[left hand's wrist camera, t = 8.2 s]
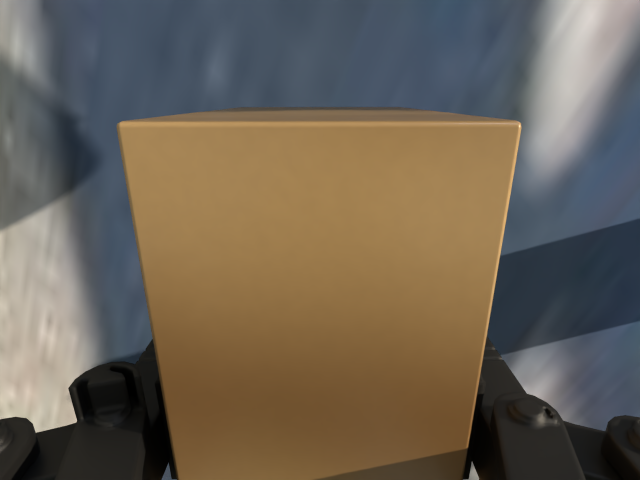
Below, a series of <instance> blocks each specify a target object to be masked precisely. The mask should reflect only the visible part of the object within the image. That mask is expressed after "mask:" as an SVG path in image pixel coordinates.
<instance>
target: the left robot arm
mask: <svg viewBox="0 0 640 480" xmlns="http://www.w3.org/2000/svg"><path fill="white" fill-rule="evenodd" d="M68 389H69V392H70V396H71V400H72V403H73V407H74V411H75V414H76V418H77V423H74V424H71V425H67V426H63V427H59V428H55V429H51V430H46V431H42V432H38V433H35V429H34V426H33V424H32V423H31V422H30V421H29V420H28V419H27V418H20V417H12V418H5V419H0V480H161V479H162V477H163V474H164V472H165V470H166V467H167V465H168V462H169V466H170V472H171V477H172V479H177V477H176V471H175V465H174V459H173V453H172V448H171V442H170V436H169V430H168V424H167V418H166V412H165V407H164V401H163V395H162V389H161V383H160V377H159V372H158V366H157V360H156V354H155V348H154V342H153V339H152V341H151V342H150V343H149V345H148V346H147V348H146V351H144V352H143V354H142V355H141V357H140V358H139V361H137V362H136V364H135V365H134V364H132V363H128V362H111V363H107V364H103V365H99V366H97V367H94V368H92V369H90V370H88V371H86V372H84V373H83V374H82V375H80V376H79V377H78V378H76V379H75V380H74V382H73V383H72V384H71V386H70V387H69V388H68ZM471 462H473V464H474V467H475V469H476V472H477V474H478V476H479V480H640V418H639V417H633V416H626V415H624V416H617V417H614V418H613V419H611V420H610V421H609V422H608V425H607V428H606V431H601V430H597V429H593V428H588V427H584V426H580V425H575V424H572V423H569V422H565V421H563V420H562V418H561V417H560V415H559V414H558V412H557V411H556V410H555V409H554V408H553V407H551V406H550V405H549V404H548V403H547V402H545V401H543V400H541V399H539V398H537V397H535V396H533V395H529V394H527V393H526V392H525V390H524V389H523V388H522V386H521V385H520V383H519V382H518V380H517V379H516V377H515V376H514V375H513V373H512V372H511V370H510V369H509V367H508V366H507V364H506V363H505V362H504V360H502V357H501V356H500V354H499V353H498V351H497V350H495V347H494V346H493V344H492V343H491V341H490V340H489V338H488V337H486V343H485V349H484V355H483V361H482V367H481V373H480V379H479V385H478V391H477V397H476V403H475V408H474V414H473V420H472V426H471V432H470V438H469V444H468V450H467V456H466V462H465V468H464V474H463V479H469V474H470V468H471Z"/></svg>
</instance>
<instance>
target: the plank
mask: <svg viewBox="0 0 640 480" xmlns="http://www.w3.org/2000/svg"><path fill="white" fill-rule="evenodd" d="M117 132H118V138H119V144H120V150H121V156H122V161H123V167H124V173H125V179H126V185H127V191H128V196H129V202H130V208H131V214H132V220H133V226H134V231H135V237H136V243H137V249H138V255H139V261H140V267H141V272H142V278H143V284H144V290H145V296H146V302H147V307H148V313H149V319H150V325H151V331H152V337H153V342H154V348H155V354H156V360H157V366H158V372H159V377H160V383H161V389H162V395H163V401H164V407H165V412H166V418H167V424H168V430H169V436H170V442H171V448H172V453H173V459H174V465H175V471H176V477H177V480H463V474H464V468H465V462H466V456H467V450H468V444H469V438H470V432H471V426H472V420H473V414H474V408H475V403H476V397H477V391H478V385H479V379H480V373H481V367H482V361H483V355H484V349H485V343H486V337H487V331H488V325H489V319H490V313H491V307H492V301H493V295H494V289H495V283H496V277H497V271H498V265H499V259H500V253H501V247H502V241H503V235H504V229H505V223H506V217H507V211H508V205H509V199H510V193H511V187H512V181H513V175H514V169H515V163H516V157H517V151H518V145H519V139H520V133H521V123H520V122H518V121H514V120H506V119H497V118H489V117H480V116H471V115H463V114H454V113H446V112H437V111H429V110H420V109H412V108H403V107H240V108H231V109H223V110H214V111H206V112H197V113H188V114H180V115H171V116H163V117H154V118H146V119H137V120H129V121H122V122H120V123H118V124H117Z"/></svg>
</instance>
